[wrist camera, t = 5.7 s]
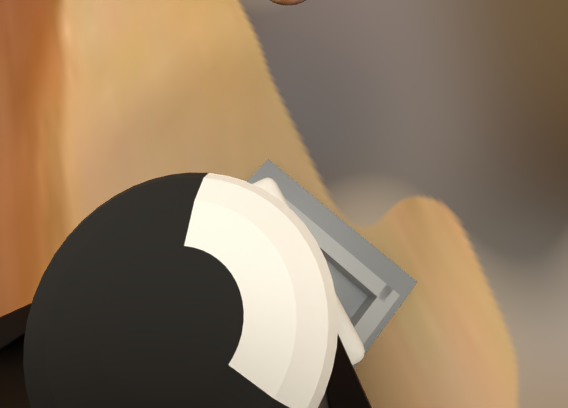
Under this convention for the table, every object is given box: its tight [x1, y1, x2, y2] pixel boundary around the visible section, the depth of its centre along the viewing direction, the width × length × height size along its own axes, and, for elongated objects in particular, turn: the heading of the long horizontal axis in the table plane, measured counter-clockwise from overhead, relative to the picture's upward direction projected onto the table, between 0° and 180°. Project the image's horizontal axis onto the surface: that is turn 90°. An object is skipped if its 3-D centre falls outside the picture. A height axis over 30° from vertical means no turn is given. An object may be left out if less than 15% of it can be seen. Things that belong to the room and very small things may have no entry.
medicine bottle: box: [23, 173, 365, 408], centre depth 11 cm, size 7×7×12 cm
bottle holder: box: [247, 159, 417, 368], centre depth 19 cm, size 14×16×3 cm
